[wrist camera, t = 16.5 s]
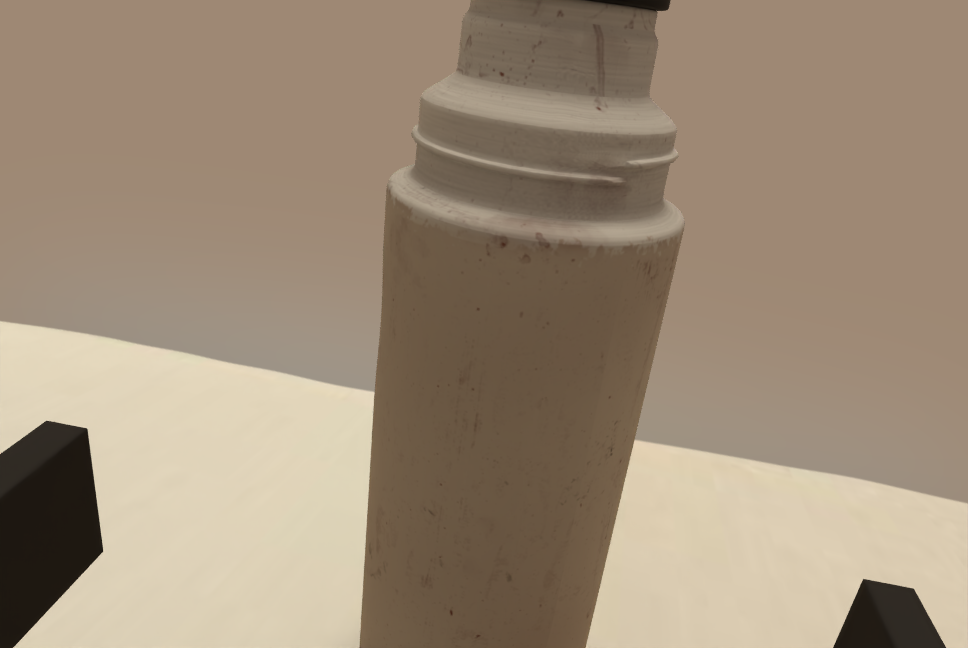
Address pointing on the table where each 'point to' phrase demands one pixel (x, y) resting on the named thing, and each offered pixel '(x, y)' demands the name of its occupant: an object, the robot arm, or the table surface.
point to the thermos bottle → (517, 327)
